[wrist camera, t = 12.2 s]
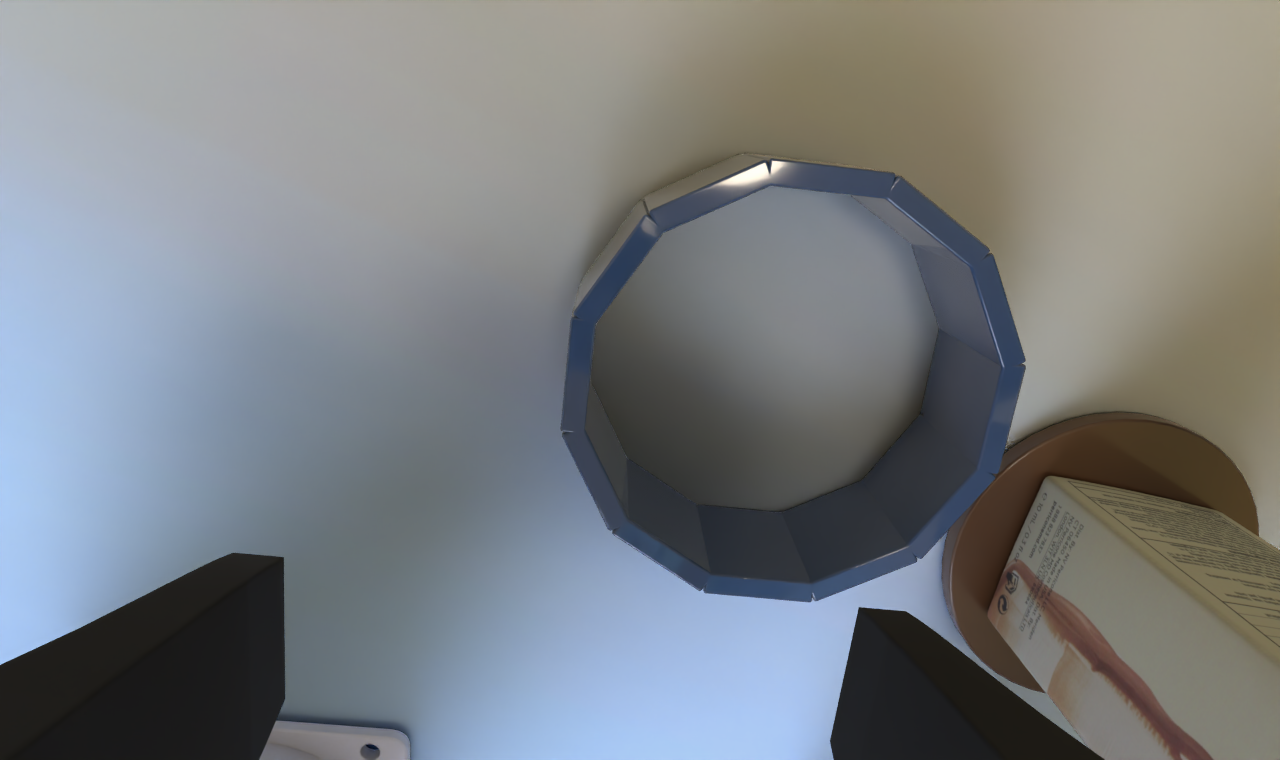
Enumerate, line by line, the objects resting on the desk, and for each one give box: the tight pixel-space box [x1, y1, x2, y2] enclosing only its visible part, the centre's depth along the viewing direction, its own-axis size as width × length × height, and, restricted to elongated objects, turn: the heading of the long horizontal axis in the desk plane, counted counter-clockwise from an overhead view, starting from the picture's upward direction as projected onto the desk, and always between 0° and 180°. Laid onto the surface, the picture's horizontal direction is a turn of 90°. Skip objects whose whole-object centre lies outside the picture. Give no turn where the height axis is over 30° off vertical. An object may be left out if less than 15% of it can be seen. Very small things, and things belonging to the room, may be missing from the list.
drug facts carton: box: [988, 476, 1280, 760], centre depth 17 cm, size 5×4×10 cm
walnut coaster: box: [942, 412, 1259, 693], centre depth 22 cm, size 8×8×1 cm
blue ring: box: [561, 153, 1026, 602], centre depth 19 cm, size 9×9×4 cm
